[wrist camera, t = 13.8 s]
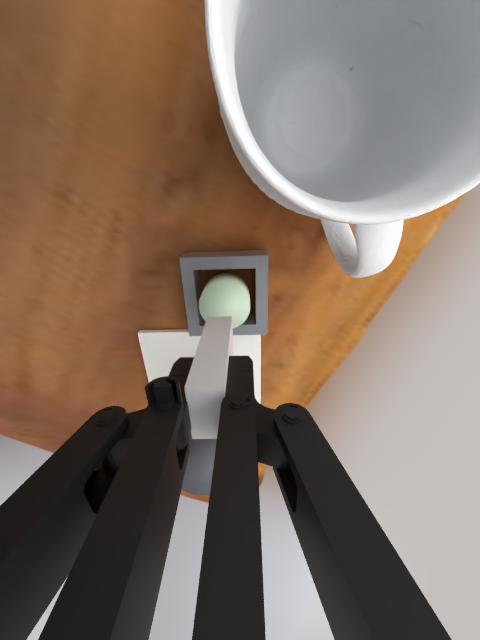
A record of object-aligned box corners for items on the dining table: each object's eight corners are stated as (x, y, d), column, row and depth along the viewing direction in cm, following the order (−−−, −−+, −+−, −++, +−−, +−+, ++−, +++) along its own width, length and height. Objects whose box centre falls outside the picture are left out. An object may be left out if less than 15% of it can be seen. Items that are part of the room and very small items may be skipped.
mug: (395, 231, 22) (577, 272, 10) (268, 272, 23) (292, 351, 11) (373, -15, 16) (768, -662, 4) (204, 65, 17) (120, -216, 6)
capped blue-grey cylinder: (200, 390, 28) (175, 495, 18) (195, 357, 26) (166, 455, 16) (238, 389, 28) (235, 495, 18) (237, 356, 26) (232, 454, 16)
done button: (201, 273, 22) (196, 282, 19) (249, 272, 22) (249, 281, 19) (205, 316, 23) (201, 330, 21) (250, 315, 23) (250, 329, 21)
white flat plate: (139, 330, 26) (137, 333, 25) (260, 327, 26) (260, 330, 25) (156, 406, 30) (154, 410, 30) (260, 405, 30) (260, 409, 29)
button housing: (185, 252, 23) (179, 257, 20) (266, 249, 22) (268, 255, 20) (194, 324, 26) (189, 336, 23) (265, 322, 25) (267, 334, 23)
